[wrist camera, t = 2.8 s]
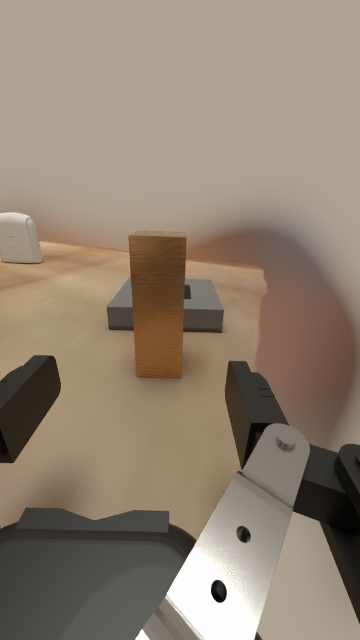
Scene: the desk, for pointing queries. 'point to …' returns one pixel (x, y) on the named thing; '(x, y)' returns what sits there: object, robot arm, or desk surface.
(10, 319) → the desk surface
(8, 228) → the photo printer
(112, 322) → the well stand
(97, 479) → the desk surface
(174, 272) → the bracket post
